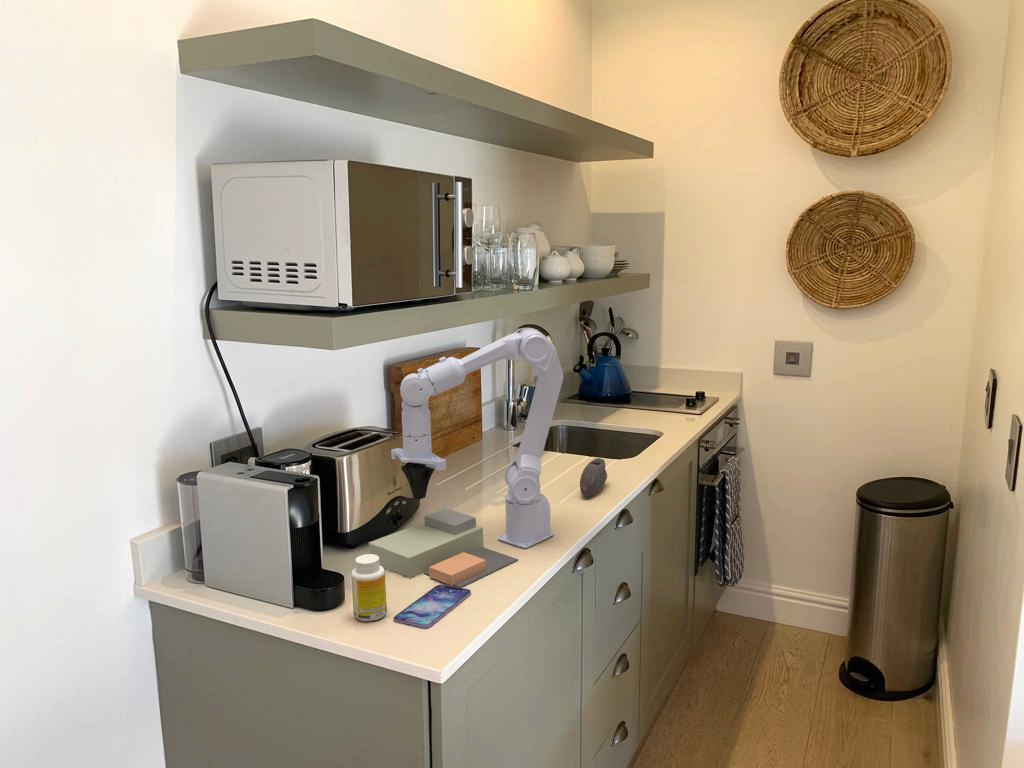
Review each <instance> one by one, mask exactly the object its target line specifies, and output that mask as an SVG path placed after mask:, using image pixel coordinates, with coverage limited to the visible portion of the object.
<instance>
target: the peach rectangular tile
mask: <svg viewBox="0 0 1024 768" xmlns="http://www.w3.org/2000/svg"><path fill="white" fill-rule="evenodd" d="M485 570H486V560H484V559H481V558H478V557H476V556H473V555H470V554H467V553H465V552H463V553H460V554H458V555H456V556H453V557H451V558H449V559H446V560H444V561H442V562H439V563H437V564H435V565H432V566H430V567H429V575H430V576H429V578H431V579H434V580H437V581H439V582H441V583H443V584H445V585H448V586H453V585H454V584H457V583H459V582H461V581H463V580H465V579H467V578H470V577H472V576H474V575H476V574H478V573H480V572H483V571H485Z"/></svg>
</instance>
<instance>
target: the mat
mask: <svg viewBox="0 0 1024 768" xmlns="http://www.w3.org/2000/svg"><path fill="white" fill-rule="evenodd" d="M467 554H470V555H473V556H476V557H478V558H481V559H484V560H486V570H485V571H483V572H480V573H478V574H476V575H474V576H472V577H470V578H467V579H465V580H463V581H461V582H459V583H457V584H454V585H452V586H454V587H459V588H465V587H466V586H468V585H470V584H473V583H475V582H476V581H478V580H481V579H483V578H485V577H487V576H489V575H491V574H493V573H495V572H498V571H499V570H501V569H504V568H506V567H508V566H510V565H512V564H514V563H516V562H515V561H517V560H518V561H519V558H516V557H513V556H510V555H507V554H504V553H501V552H498V551H495V550H492V549H490V548H487V547H484V546H482V547H480V548H478V549H475V550H473V551H471V552H469V553H467ZM518 561H517V562H518ZM513 562H514V563H513ZM511 563H512V564H511ZM509 564H510V565H509ZM507 565H508V566H507ZM505 566H506V567H505ZM423 574H424V575H426V576H428V577H430V575H429V570H427V571H425V572H423Z"/></svg>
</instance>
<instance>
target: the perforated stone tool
mask: <svg viewBox="0 0 1024 768" xmlns="http://www.w3.org/2000/svg"><path fill="white" fill-rule="evenodd" d="M606 466H607V465H606V461H605V460H604V459H603V458H599V457H597V458H594V459H592V460H591V461H590V462H588V463H587V464H586V465H585V467H584V469H582V473H581V475H580V479H579V489H580V493H581V494H582V496H583V497H585V498H589V497H592V496H594V495H595V494H596V493H598V492H599V491H600V490H602V488H603V486H604V485H605V483H606V481H607V479H608V473H607V471H606Z"/></svg>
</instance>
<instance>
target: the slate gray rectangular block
mask: <svg viewBox="0 0 1024 768" xmlns="http://www.w3.org/2000/svg"><path fill="white" fill-rule="evenodd" d="M423 519H424V522H425V525H426V526H429V527H432V528H435V529H438V530H441V531H444V532H447V533H450V534H453V535H457V534H459V533H462V532H464V531H467V530H469V529H472V528H474V527H476V526H477V521H476V517H475V516H472V515H468V514H466V513H462V512H458V511H456V510H453V509H449V508H445V507H444V508H443V509H440V510H437V511H434V512H431V513H428V514H426V515H424V518H423Z"/></svg>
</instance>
